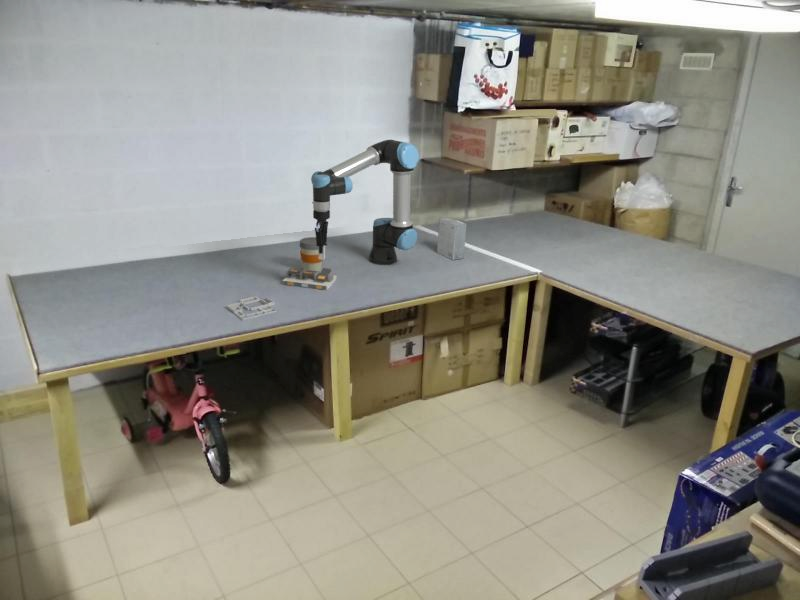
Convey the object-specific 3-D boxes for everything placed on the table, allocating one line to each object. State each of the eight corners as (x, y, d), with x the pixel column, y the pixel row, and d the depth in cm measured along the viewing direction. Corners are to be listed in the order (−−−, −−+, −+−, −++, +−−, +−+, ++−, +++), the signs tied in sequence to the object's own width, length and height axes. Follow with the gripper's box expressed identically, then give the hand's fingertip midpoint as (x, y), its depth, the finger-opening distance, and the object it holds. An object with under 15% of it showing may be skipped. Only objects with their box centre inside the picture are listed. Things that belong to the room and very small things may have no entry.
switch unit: (336, 279, 306) (336, 269, 304) (326, 290, 292) (326, 280, 290) (293, 274, 310) (293, 264, 308) (282, 284, 295) (282, 274, 294)
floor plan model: (256, 293, 285) (256, 289, 285) (283, 311, 268) (283, 307, 267) (217, 301, 274) (217, 297, 273) (242, 321, 256) (242, 317, 256)
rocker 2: (332, 271, 302) (331, 268, 301) (325, 281, 294) (325, 279, 293) (322, 269, 303) (322, 267, 302) (315, 280, 295) (315, 278, 294)
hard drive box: (464, 258, 346) (467, 224, 339) (453, 260, 342) (456, 225, 335) (446, 251, 358) (449, 217, 351) (436, 252, 354) (438, 218, 347)
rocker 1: (304, 272, 305) (304, 269, 305) (297, 274, 295) (297, 271, 295) (294, 270, 306) (294, 268, 305) (287, 273, 296) (287, 270, 296)
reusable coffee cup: (322, 264, 325) (323, 236, 320) (326, 272, 314) (326, 244, 308) (298, 265, 322) (298, 237, 317) (301, 273, 311) (300, 244, 305)
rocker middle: (318, 273, 304) (318, 270, 303) (311, 276, 294) (311, 273, 294) (308, 272, 305) (308, 269, 304) (301, 275, 295) (301, 272, 295)
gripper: (318, 205, 289) (318, 254, 298) (308, 212, 277) (309, 262, 286) (333, 207, 287) (333, 255, 296) (325, 213, 275) (325, 264, 285)
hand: (321, 259), depth 291 cm, fingers closed
